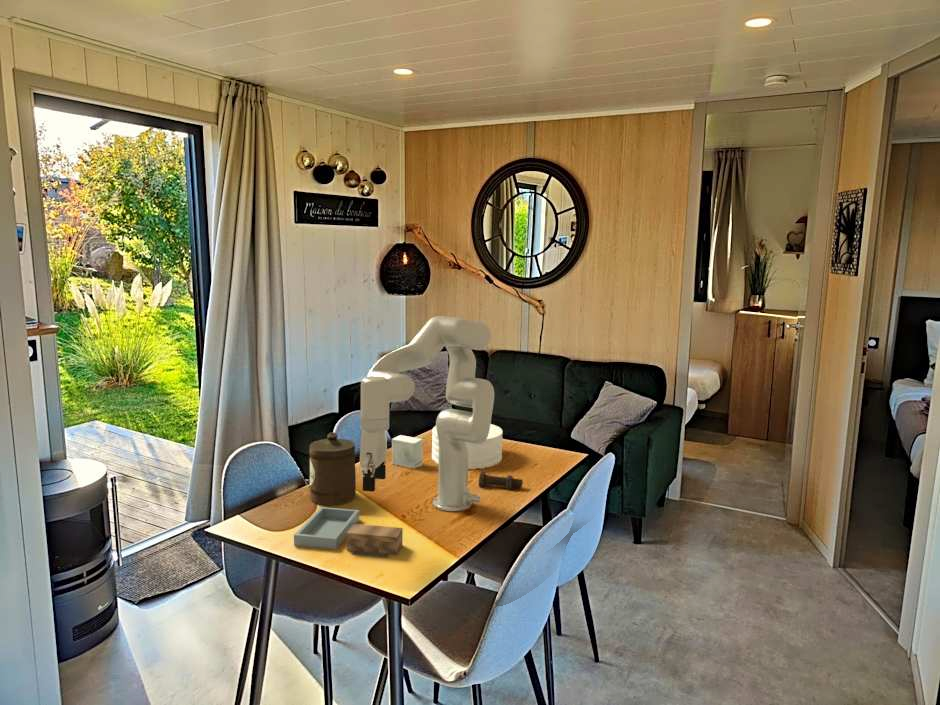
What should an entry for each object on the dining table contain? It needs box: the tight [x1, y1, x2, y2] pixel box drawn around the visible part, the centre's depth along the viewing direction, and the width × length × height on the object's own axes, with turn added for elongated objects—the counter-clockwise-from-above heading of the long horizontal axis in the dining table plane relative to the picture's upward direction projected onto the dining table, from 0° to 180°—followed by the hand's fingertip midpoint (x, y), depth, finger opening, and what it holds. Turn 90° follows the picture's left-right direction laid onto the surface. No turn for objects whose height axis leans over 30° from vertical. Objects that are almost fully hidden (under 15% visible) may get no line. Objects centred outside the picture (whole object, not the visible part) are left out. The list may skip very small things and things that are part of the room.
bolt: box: [478, 470, 524, 490], centre depth 229 cm, size 6×5×15 cm
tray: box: [293, 506, 360, 550], centre depth 188 cm, size 12×20×4 cm, turn 171°
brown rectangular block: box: [346, 523, 404, 556], centre depth 178 cm, size 14×6×5 cm, turn 81°
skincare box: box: [391, 434, 424, 470], centre depth 250 cm, size 10×6×10 cm, turn 63°
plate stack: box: [431, 423, 504, 470], centre depth 260 cm, size 28×28×12 cm
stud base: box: [351, 551, 390, 559], centre depth 179 cm, size 10×10×4 cm
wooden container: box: [309, 431, 357, 506], centre depth 215 cm, size 15×15×22 cm
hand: (374, 484), depth 176 cm, fingers open, 9 cm apart
